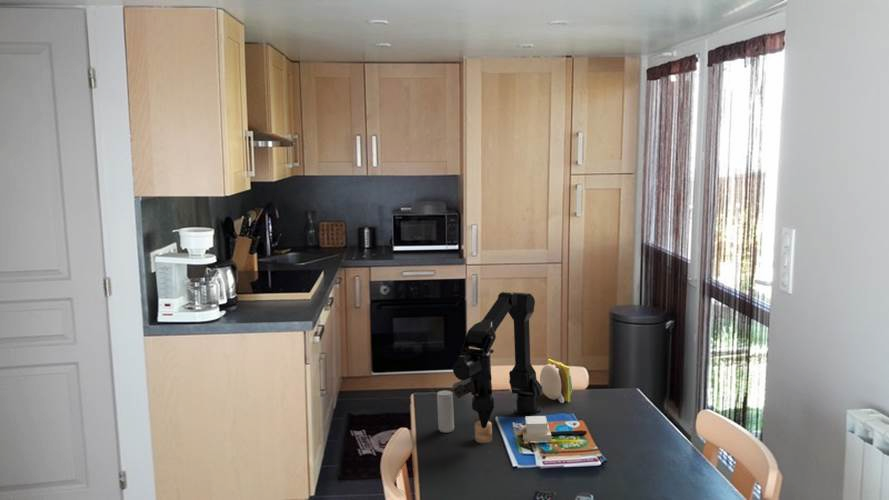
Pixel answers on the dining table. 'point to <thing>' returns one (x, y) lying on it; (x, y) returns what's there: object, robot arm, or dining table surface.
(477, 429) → the tan cylinder
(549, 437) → the birch slab
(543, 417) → the white block
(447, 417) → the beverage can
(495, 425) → the dining table surface
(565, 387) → the hamburger
